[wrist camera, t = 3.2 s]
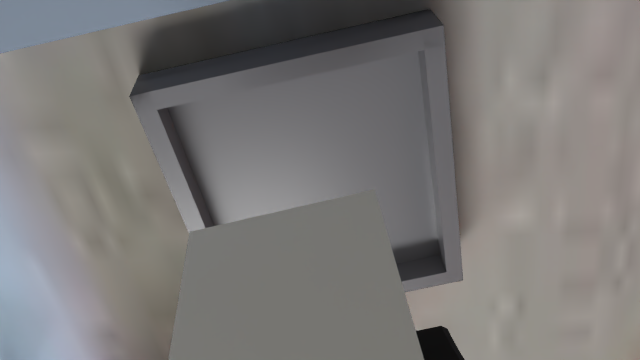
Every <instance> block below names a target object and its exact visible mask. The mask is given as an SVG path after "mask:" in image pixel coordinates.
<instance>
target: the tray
mask: <svg viewBox="0 0 640 360" xmlns="http://www.w3.org/2000/svg"><path fill="white" fill-rule="evenodd" d="M129 97H130V99H131V101H132V103H133V106H134V108H135V110H136V113H137V115H138V117H139V119H140V122H141V124H142V126H143V129H144V131H145V133H146V136H147V138H148V140H149V142H150V145H151V147H152V149H153V152H154V154H155V156H156V159H157V161H158V163H159V165H160V168H161V170H162V172H163V175H164V177H165V179H166V181H167V184H168V186H169V188H170V191H171V193H172V195H173V198H174V200H175V202H176V204H177V207H178V209H179V211H180V214H181V216H182V218H183V221H184V223H185V225H186V227H187V230H188V232H189V233H190V232H191V231H195V230H199V229H204V228H208V227H213V226H217V225H221V224H226V223H230V222H234V221H239V220H243V219H247V218H252V217H256V216H261V215H265V214H269V213H274V212H278V211H282V210H287V209H291V208H295V207H300V206H304V205H309V204H313V203H317V202H322V201H326V200H330V199H335V198H339V197H343V196H348V195H352V194H357V193H361V192H365V191H370V190H374V189H375V193H376V196H377V200H378V203H379V207H380V210H381V213H382V217H383V220H384V224H385V227H386V231H387V234H388V237H389V241H390V244H391V248H392V251H393V255H394V258H395V261H396V265H397V268H398V272H399V275H400V279H401V282H402V285H403V289H404V292H408V291H413V290H418V289H423V288H428V287H432V286H437V285H442V284H447V283H452V282H457V281H461V280H463V272H462V259H461V246H460V233H459V220H458V207H457V194H456V181H455V168H454V155H453V142H452V129H451V116H450V103H449V90H448V77H447V64H446V52H445V39H444V26H443V24H442V23H441V22H440V20H439V19H438V18H437V17H436V16H435V14H434V13H433V12H432V11H431V10H430V9H429V10H424V11H420V12H416V13H411V14H407V15H402V16H398V17H394V18H389V19H385V20H380V21H376V22H372V23H367V24H363V25H358V26H354V27H350V28H345V29H341V30H336V31H332V32H328V33H323V34H319V35H314V36H310V37H306V38H301V39H297V40H292V41H288V42H284V43H279V44H275V45H270V46H266V47H262V48H257V49H253V50H248V51H244V52H240V53H235V54H231V55H226V56H222V57H218V58H213V59H209V60H204V61H200V62H196V63H191V64H187V65H182V66H178V67H174V68H169V69H165V70H160V71H156V72H152V73H147V74H143V75H139V76H138V78H137V80H136V83H135V85H134V87H133V89H132V92H131V94H130V96H129Z"/></svg>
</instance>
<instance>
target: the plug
mask: <svg viewBox="0 0 640 360" xmlns="http://www.w3.org/2000/svg"><path fill="white" fill-rule="evenodd" d="M168 360H424V358H423V354H422V351H421V347H420V344H419V340H418V337H417V334H416V330H415V327H414V323H413V320H412V316H411V313H410V309H409V306H408V303H407V299H406V296H405V292H404V289H403V285H402V282H401V279H400V275H399V272H398V268H397V265H396V261H395V258H394V255H393V251H392V248H391V244H390V241H389V237H388V234H387V231H386V227H385V224H384V220H383V217H382V213H381V210H380V207H379V203H378V200H377V196H376V193H375V189H374V190H370V191H365V192H361V193H357V194H352V195H348V196H343V197H339V198H335V199H330V200H326V201H322V202H317V203H313V204H309V205H304V206H300V207H295V208H291V209H287V210H282V211H278V212H274V213H269V214H265V215H261V216H256V217H252V218H247V219H243V220H239V221H234V222H230V223H226V224H221V225H217V226H213V227H208V228H204V229H199V230H195V231H191V232H190V233H189V239H188V245H187V251H186V257H185V263H184V269H183V275H182V281H181V287H180V293H179V299H178V305H177V311H176V317H175V323H174V329H173V335H172V341H171V347H170V353H169V359H168Z"/></svg>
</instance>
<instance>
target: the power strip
mask: <svg viewBox="0 0 640 360" xmlns="http://www.w3.org/2000/svg"><path fill="white" fill-rule="evenodd" d="M225 1H229V0H0V53H4V52H8V51H13V50H17V49H21V48H26V47H30V46H34V45H38V44H43V43H47V42H51V41H56V40H60V39H64V38H69V37H73V36H77V35H82V34H86V33H90V32H95V31H99V30H103V29H108V28H112V27H116V26H121V25H125V24H129V23H134V22H138V21H142V20H147V19H151V18H155V17H160V16H164V15H168V14H173V13H177V12H181V11H186V10H190V9H194V8H199V7H203V6H207V5H212V4H216V3H220V2H225Z"/></svg>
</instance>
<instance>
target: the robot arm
mask: <svg viewBox="0 0 640 360" xmlns="http://www.w3.org/2000/svg"><path fill="white" fill-rule="evenodd" d="M416 334H417V337H418V340H419V344H420V347H421V351H422V354H423V358H424V360H464V358H463V356H462V355H461V353H460V351H459V350H458V348H457V346H456V344H455V343H454V341H453V339H452V337H451V335H450V333H449V331H448V329H447V328H444V327H442V326H438V327H434V328H429V329H424V330H419V331H416Z"/></svg>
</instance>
